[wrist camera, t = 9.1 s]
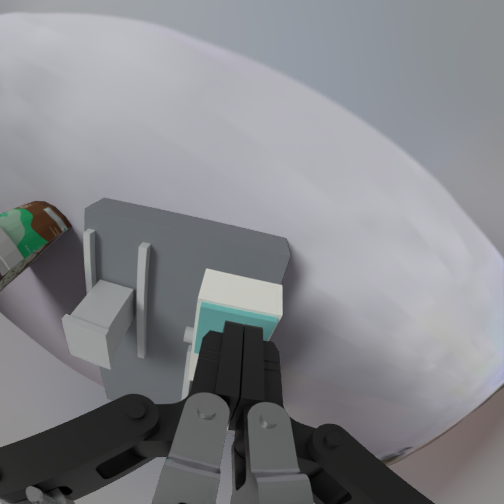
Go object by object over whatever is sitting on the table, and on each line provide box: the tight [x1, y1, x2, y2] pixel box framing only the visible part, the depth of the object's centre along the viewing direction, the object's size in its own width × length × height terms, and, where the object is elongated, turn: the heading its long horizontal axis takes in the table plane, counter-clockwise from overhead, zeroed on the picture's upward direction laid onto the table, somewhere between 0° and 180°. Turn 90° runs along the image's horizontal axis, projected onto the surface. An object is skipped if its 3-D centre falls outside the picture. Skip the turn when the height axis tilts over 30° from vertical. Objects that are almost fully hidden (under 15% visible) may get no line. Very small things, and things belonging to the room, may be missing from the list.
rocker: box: [183, 268, 283, 381], centre depth 16 cm, size 5×10×2 cm, turn 166°
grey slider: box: [62, 279, 134, 370], centre depth 17 cm, size 3×3×6 cm
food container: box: [0, 201, 72, 291], centre depth 16 cm, size 12×6×10 cm, turn 117°
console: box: [83, 198, 291, 404], centre depth 23 cm, size 15×24×6 cm, turn 166°
